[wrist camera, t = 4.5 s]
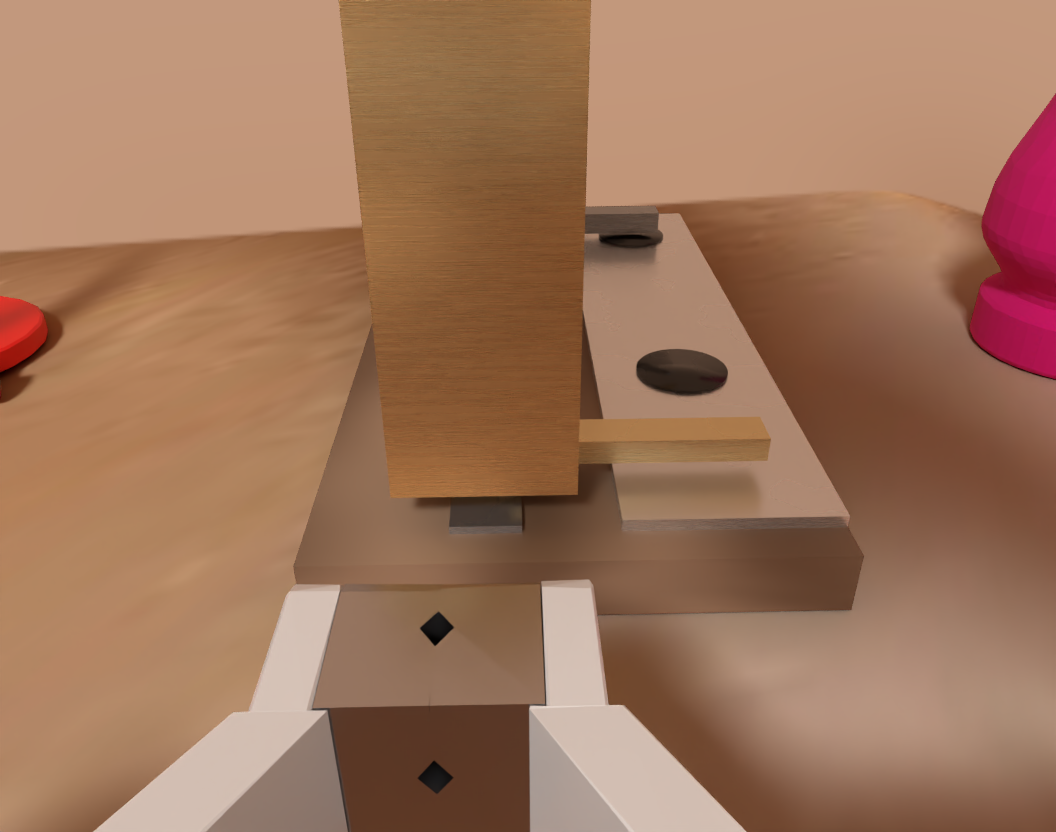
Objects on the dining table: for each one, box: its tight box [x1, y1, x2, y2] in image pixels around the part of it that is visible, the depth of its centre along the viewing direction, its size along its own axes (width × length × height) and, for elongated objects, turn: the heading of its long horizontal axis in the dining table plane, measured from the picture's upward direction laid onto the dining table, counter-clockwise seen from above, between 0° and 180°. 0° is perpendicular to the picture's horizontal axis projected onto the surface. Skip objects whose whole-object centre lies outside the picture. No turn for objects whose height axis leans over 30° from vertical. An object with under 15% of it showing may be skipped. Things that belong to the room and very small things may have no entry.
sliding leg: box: [339, 0, 771, 498], centre depth 16 cm, size 8×4×17 cm, turn 91°
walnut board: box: [293, 213, 864, 615], centre depth 29 cm, size 12×24×2 cm, turn 1°
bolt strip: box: [449, 213, 850, 534], centre depth 29 cm, size 9×22×1 cm, turn 1°
